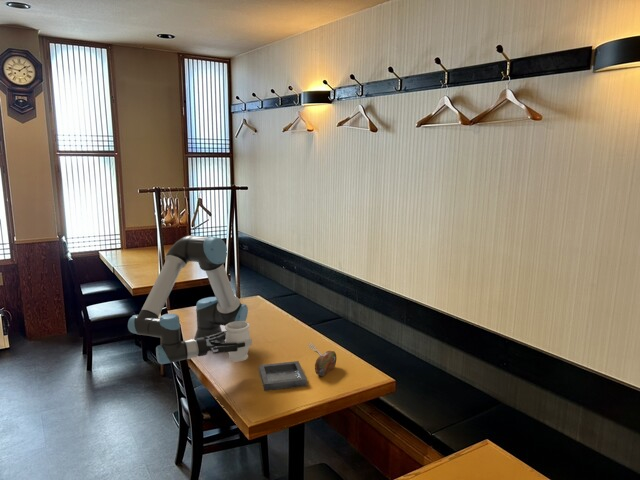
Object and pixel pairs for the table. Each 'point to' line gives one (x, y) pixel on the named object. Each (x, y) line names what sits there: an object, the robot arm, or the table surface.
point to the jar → (237, 339)
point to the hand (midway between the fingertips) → (246, 337)
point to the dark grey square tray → (282, 375)
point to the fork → (314, 348)
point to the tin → (325, 363)
